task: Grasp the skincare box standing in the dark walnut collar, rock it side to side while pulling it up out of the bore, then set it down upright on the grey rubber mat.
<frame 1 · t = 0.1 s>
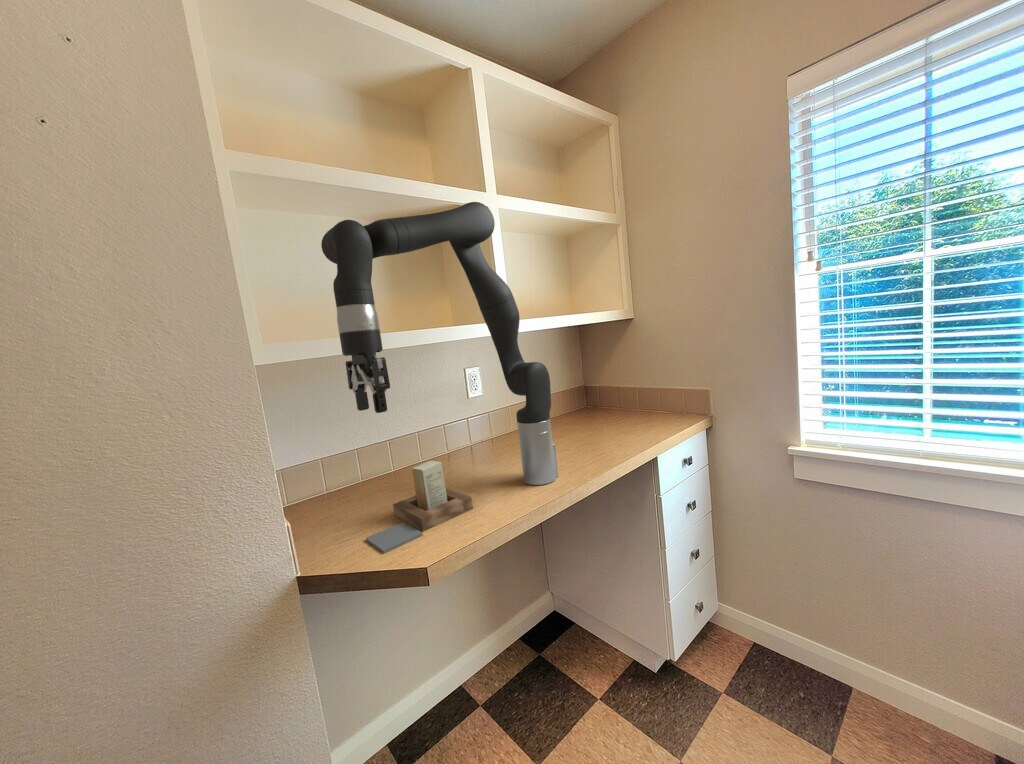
hand: (372, 411, 80), 29 cm above the table, fingers open, 8 cm apart
skincare box: (433, 513, 99), resting in collar
mat: (394, 537, 88), on the table
collar: (433, 512, 99), on the table
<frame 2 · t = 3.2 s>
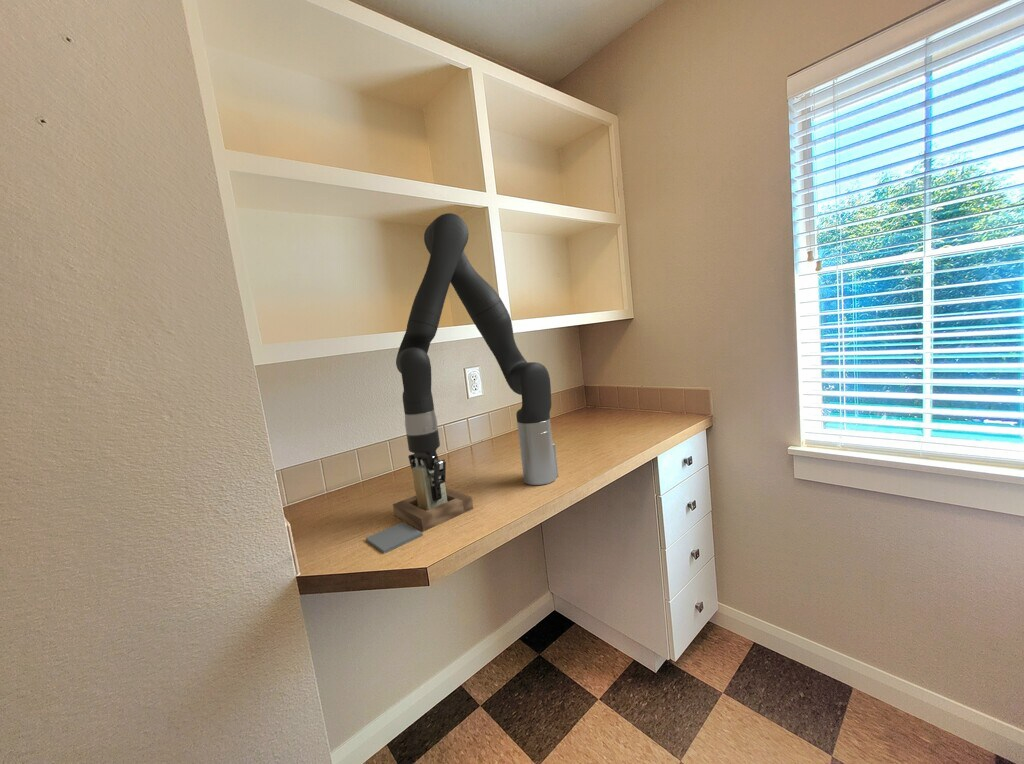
hand: (431, 497, 99), 4 cm above the table, fingers closed on skincare box, 4 cm apart
skincare box: (433, 512, 99), resting in collar, touching gripper
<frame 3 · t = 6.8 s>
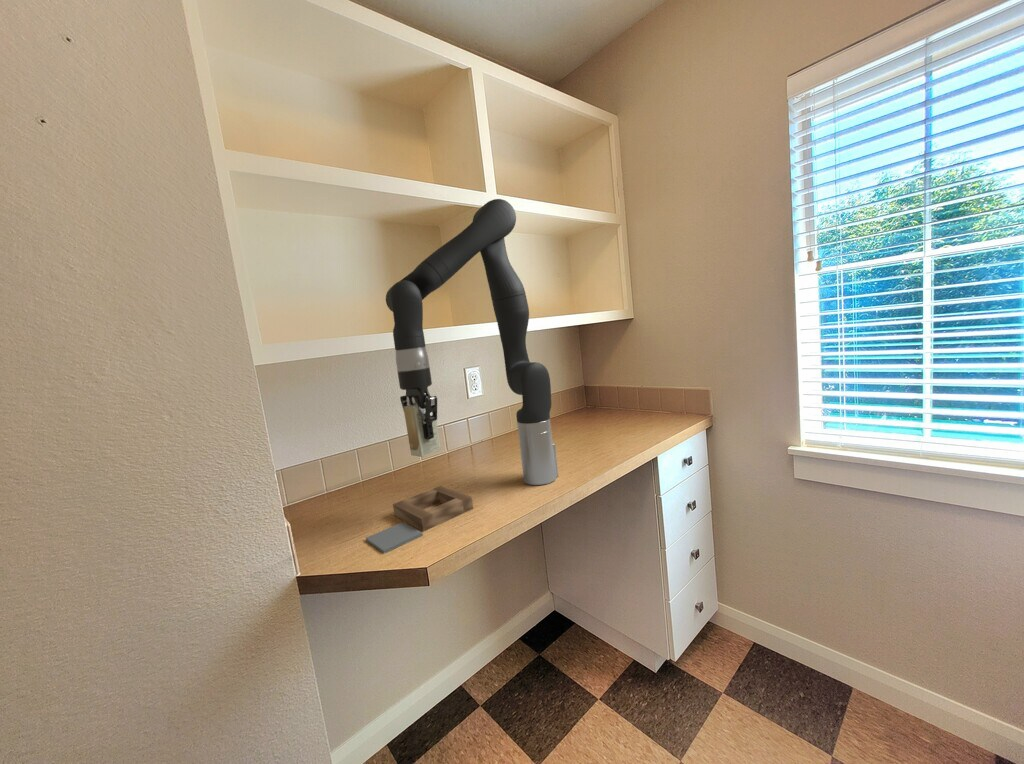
hand: (423, 437, 97), 19 cm above the table, fingers closed on skincare box, 4 cm apart
skincare box: (426, 453, 98), point 15 cm above the table, touching gripper
when the fingers open (5 cm above the table, at t = 10.8 s): skincare box stays where it is, resting on mat.
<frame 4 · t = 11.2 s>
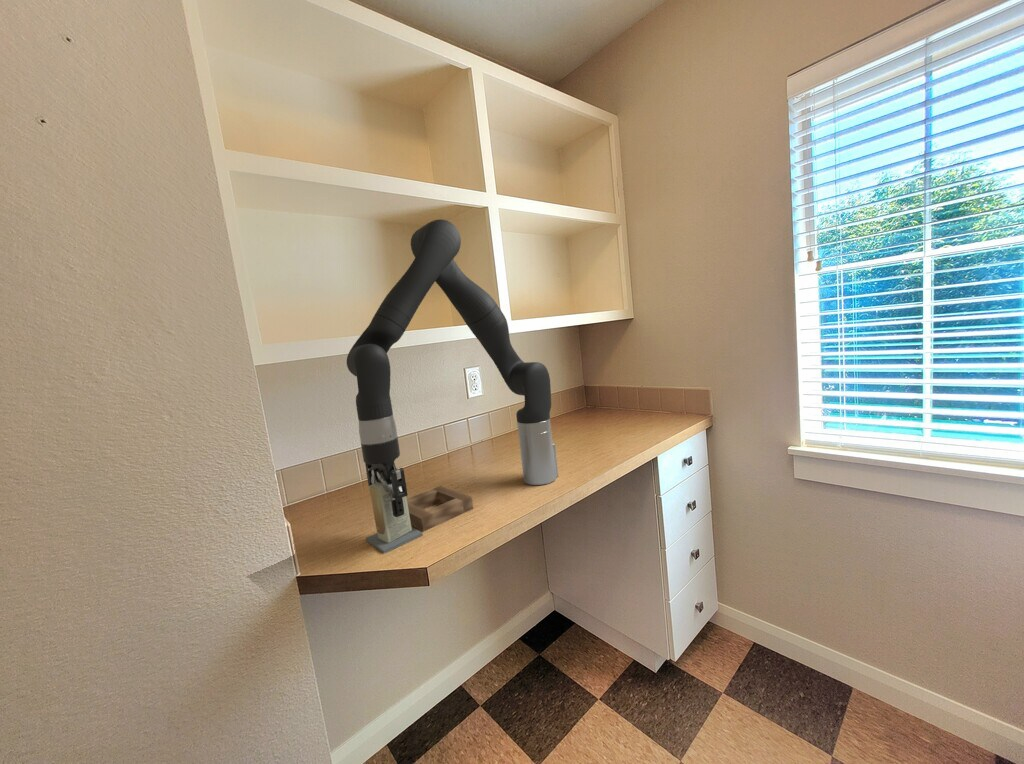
hand: (390, 510, 87), 6 cm above the table, fingers open, 8 cm apart
skincare box: (394, 535, 88), resting on mat
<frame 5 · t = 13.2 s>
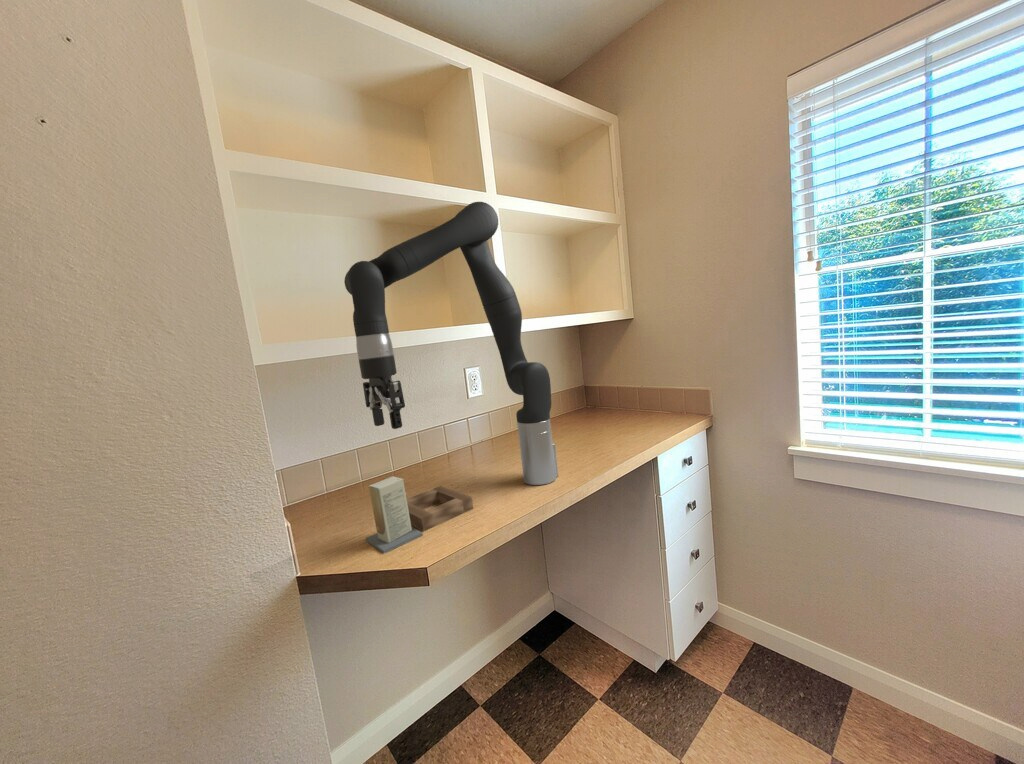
hand: (388, 426, 91), 24 cm above the table, fingers open, 8 cm apart
nothing on the table moved.
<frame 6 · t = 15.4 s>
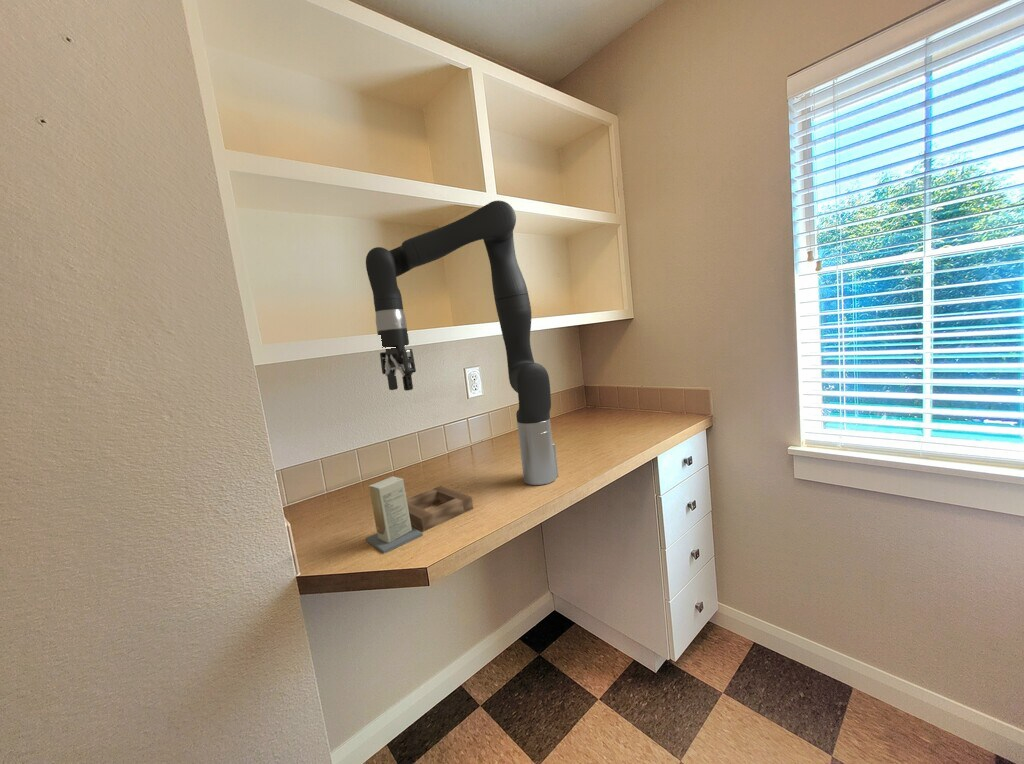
hand: (400, 389, 106), 30 cm above the table, fingers open, 8 cm apart
nothing on the table moved.
at the end: skincare box inside the target area on the mat (0.1 cm from its centre), point 0.4 cm above the mat's base; skincare box tilted 0°; the gripper is holding nothing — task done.
